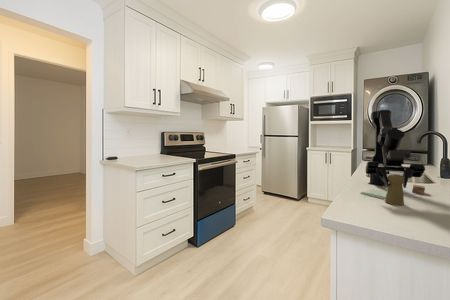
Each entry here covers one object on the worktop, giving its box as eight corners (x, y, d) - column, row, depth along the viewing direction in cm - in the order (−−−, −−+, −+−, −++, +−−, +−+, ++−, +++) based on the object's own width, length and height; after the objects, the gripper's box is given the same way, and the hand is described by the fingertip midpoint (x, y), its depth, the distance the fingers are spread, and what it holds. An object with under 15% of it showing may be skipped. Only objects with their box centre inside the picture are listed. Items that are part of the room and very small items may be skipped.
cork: (408, 205, 85) (410, 176, 84) (392, 205, 86) (393, 176, 85) (396, 200, 91) (398, 173, 90) (381, 200, 92) (383, 173, 91)
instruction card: (383, 189, 110) (383, 188, 110) (389, 186, 116) (389, 185, 116) (415, 194, 101) (415, 193, 101) (419, 191, 107) (419, 190, 107)
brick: (412, 192, 103) (413, 186, 103) (412, 190, 106) (413, 184, 106) (423, 194, 101) (424, 188, 100) (423, 192, 104) (424, 186, 104)
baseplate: (360, 193, 102) (360, 191, 102) (373, 190, 108) (373, 188, 107) (386, 200, 93) (386, 197, 93) (399, 196, 98) (399, 193, 98)
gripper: (368, 142, 94) (371, 172, 85) (425, 143, 86) (435, 177, 77) (364, 158, 102) (366, 188, 93) (416, 161, 94) (424, 193, 85)
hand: (396, 186), depth 87 cm, fingers closed on cork, 5 cm apart
